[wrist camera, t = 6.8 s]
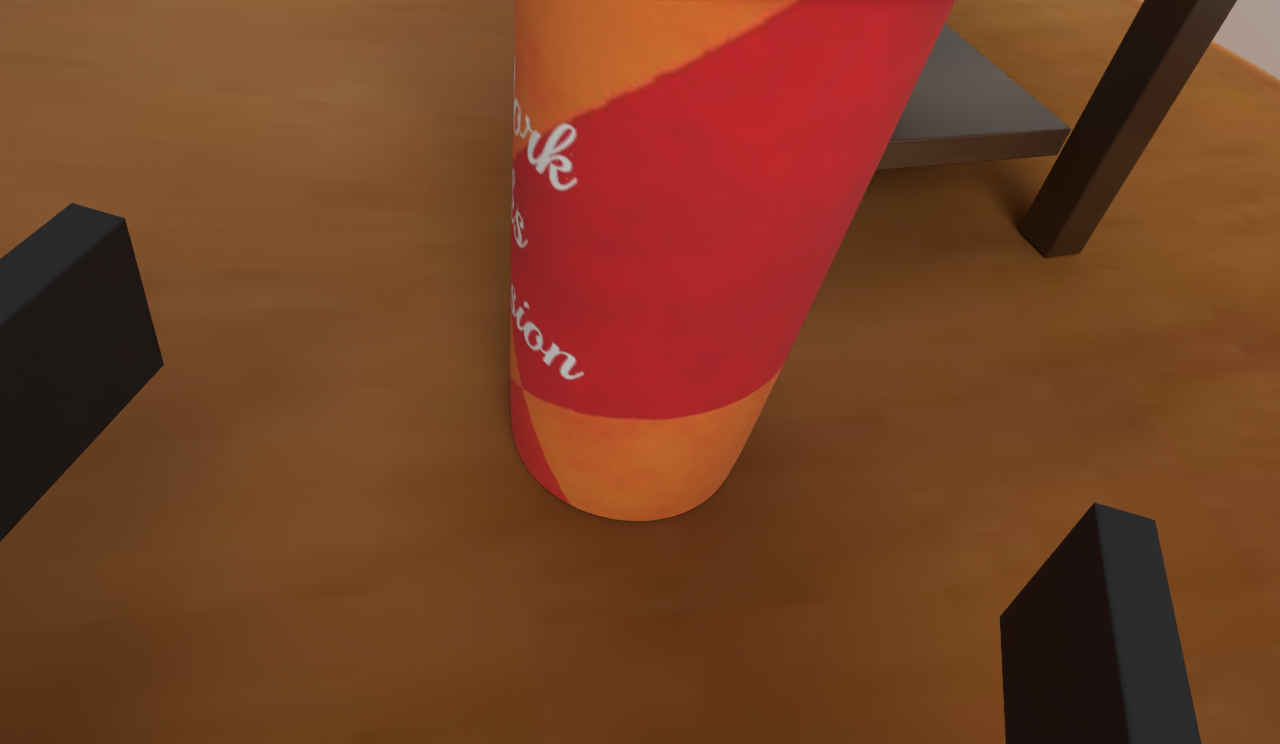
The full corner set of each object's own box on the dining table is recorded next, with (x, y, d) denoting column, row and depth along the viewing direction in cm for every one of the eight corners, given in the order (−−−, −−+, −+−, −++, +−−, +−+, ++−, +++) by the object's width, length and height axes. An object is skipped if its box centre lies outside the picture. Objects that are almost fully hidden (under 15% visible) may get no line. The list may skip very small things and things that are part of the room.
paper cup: (534, 291, 26) (603, -319, 16) (799, 376, 25) (1036, -207, 16) (405, 499, 20) (395, -240, 11) (742, 616, 20) (1054, -61, 10)
